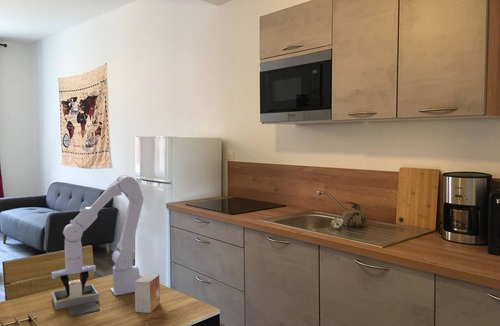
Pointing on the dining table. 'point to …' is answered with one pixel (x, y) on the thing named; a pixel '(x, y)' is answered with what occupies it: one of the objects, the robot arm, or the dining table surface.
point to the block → (75, 289)
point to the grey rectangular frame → (76, 300)
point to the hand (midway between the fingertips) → (75, 293)
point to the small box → (147, 293)
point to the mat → (83, 309)
